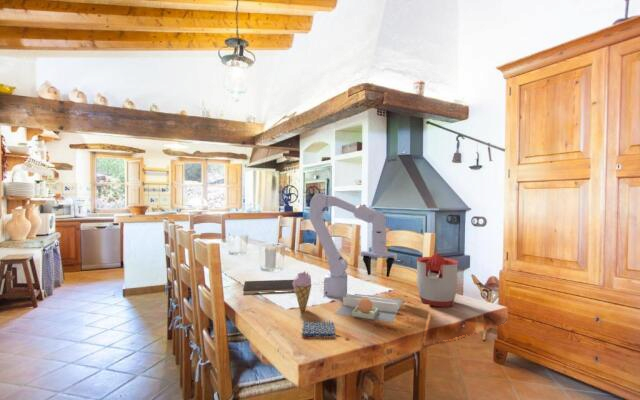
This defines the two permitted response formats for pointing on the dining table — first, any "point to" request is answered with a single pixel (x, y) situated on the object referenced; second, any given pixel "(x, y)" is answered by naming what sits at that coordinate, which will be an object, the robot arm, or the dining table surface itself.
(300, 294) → the ice cream cone
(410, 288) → the dining table surface
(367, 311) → the ball
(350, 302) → the grey ridged board
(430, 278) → the citrus juicer
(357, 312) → the dish
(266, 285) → the hardcover book
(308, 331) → the woven mat
